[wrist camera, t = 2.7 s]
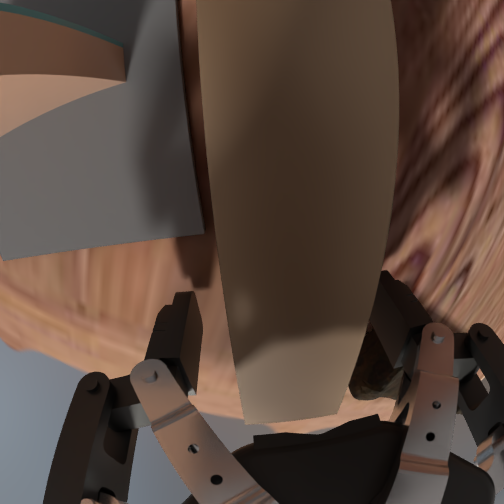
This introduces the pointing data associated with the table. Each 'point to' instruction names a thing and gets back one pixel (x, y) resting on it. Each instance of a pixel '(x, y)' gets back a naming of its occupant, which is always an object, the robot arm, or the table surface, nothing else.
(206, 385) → the table surface
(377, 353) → the hand tool
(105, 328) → the table surface
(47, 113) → the rubber mat
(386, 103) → the tan wooden bar
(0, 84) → the tile
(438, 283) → the table surface
